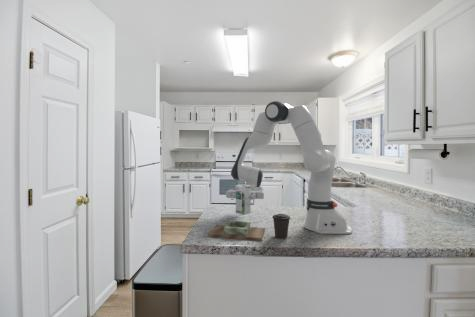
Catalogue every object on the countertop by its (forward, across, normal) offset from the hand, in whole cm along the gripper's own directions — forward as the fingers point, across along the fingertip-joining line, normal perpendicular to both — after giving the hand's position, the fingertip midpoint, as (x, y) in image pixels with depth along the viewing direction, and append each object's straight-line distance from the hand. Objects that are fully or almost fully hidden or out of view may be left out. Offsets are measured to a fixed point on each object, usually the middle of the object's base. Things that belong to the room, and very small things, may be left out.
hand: (242, 197), depth 136 cm
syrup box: (-1, 0, +9) cm, 9 cm away
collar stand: (+12, 0, +15) cm, 19 cm away
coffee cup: (+12, +20, +15) cm, 28 cm away
